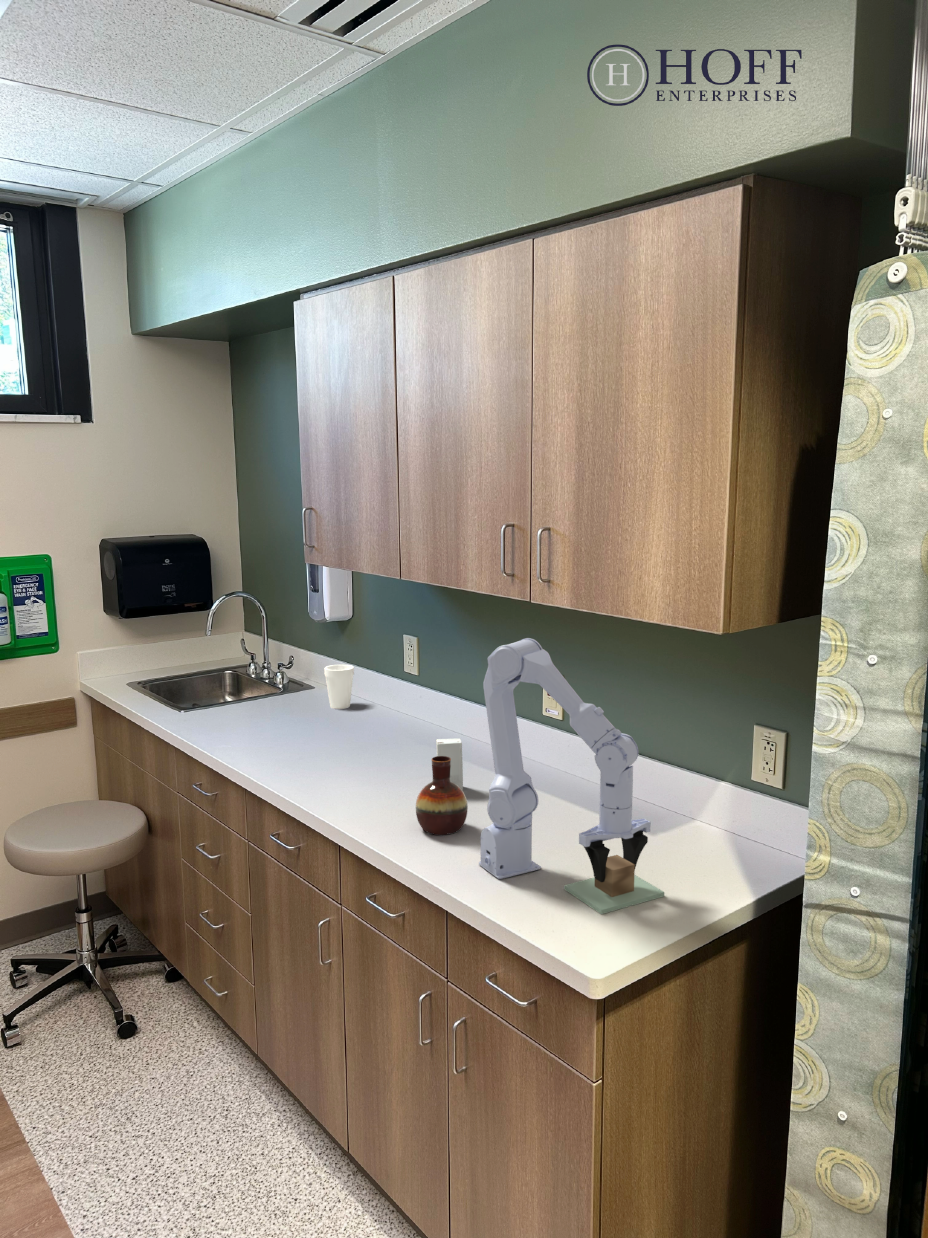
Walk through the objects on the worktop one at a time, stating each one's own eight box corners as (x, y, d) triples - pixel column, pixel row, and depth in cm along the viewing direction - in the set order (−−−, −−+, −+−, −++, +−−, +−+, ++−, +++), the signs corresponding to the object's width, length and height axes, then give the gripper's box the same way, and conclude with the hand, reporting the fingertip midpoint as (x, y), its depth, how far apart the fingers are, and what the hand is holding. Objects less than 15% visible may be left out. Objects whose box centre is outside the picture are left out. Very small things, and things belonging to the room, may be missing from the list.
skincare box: (461, 785, 224) (461, 737, 222) (463, 791, 220) (463, 742, 218) (436, 786, 223) (435, 738, 221) (437, 792, 219) (437, 743, 217)
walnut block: (611, 897, 163) (612, 870, 162) (594, 886, 167) (595, 860, 166) (634, 891, 165) (634, 864, 164) (616, 880, 170) (617, 854, 169)
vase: (406, 833, 194) (405, 763, 192) (430, 815, 204) (429, 748, 202) (454, 841, 190) (454, 769, 187) (475, 823, 200) (475, 754, 197)
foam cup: (323, 704, 304) (322, 665, 302) (351, 702, 306) (350, 663, 304) (328, 711, 295) (327, 671, 293) (356, 708, 297) (355, 669, 295)
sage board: (601, 914, 158) (601, 910, 158) (564, 889, 168) (564, 885, 168) (664, 896, 165) (664, 892, 165) (625, 873, 174) (625, 869, 174)
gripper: (596, 818, 157) (595, 893, 159) (662, 803, 164) (660, 875, 166) (572, 805, 163) (571, 878, 165) (637, 791, 170) (635, 861, 172)
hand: (614, 876), depth 166 cm, fingers open, 6 cm apart
